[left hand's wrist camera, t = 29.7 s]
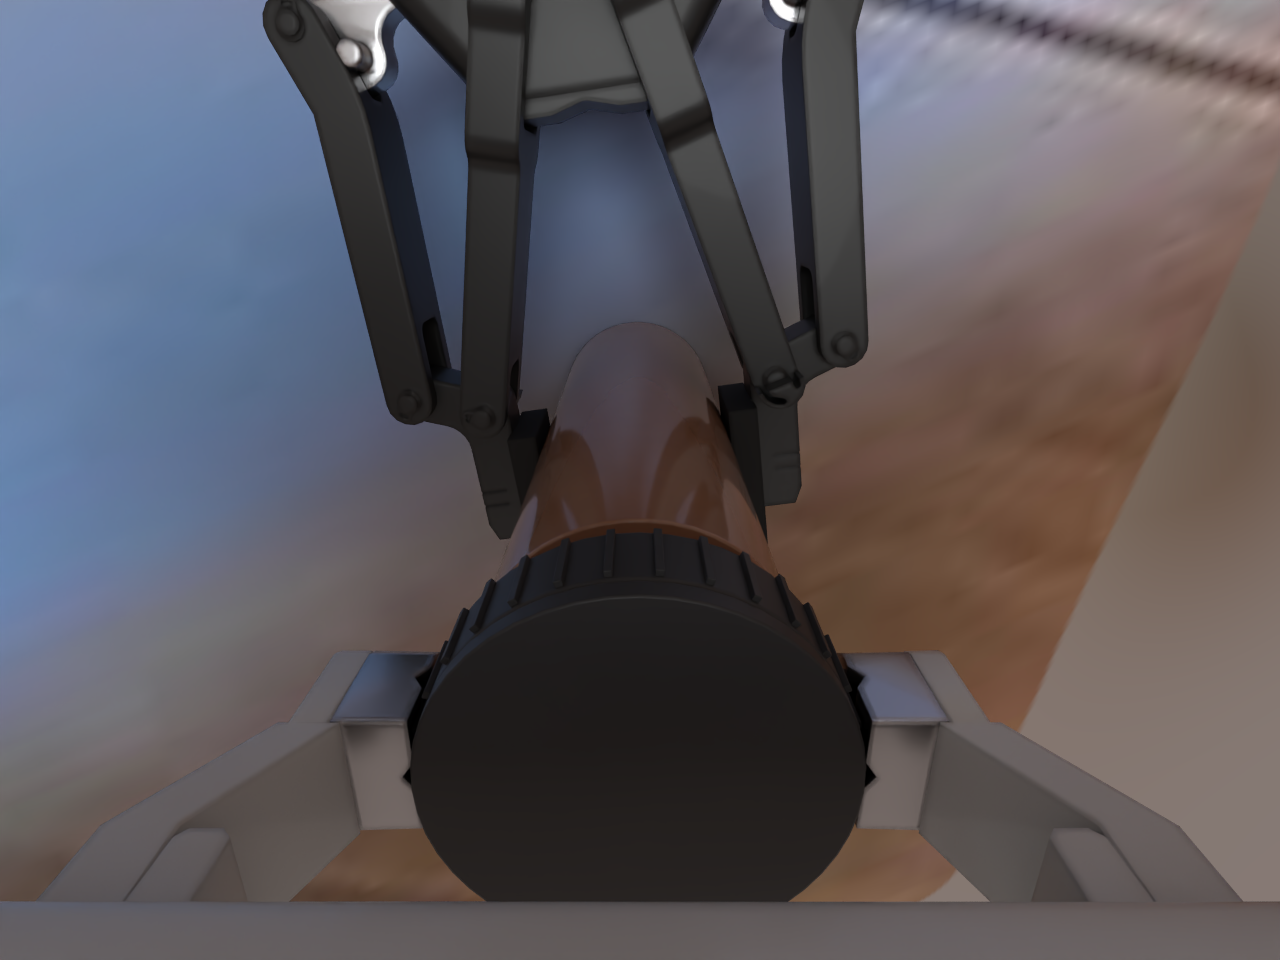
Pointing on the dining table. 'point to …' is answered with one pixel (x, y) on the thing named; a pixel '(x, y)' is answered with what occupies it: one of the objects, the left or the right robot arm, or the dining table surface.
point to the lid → (638, 731)
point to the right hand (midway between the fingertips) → (660, 607)
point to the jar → (637, 453)
